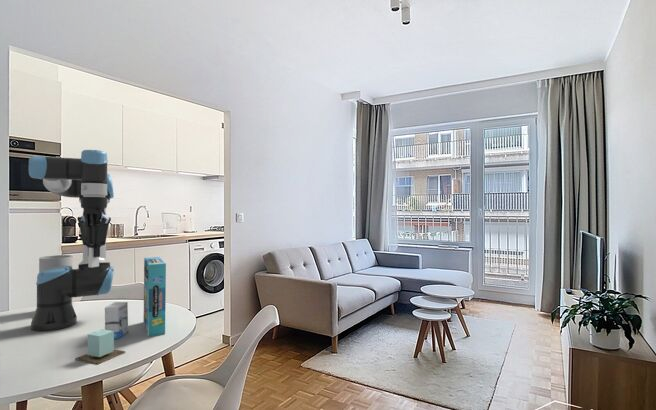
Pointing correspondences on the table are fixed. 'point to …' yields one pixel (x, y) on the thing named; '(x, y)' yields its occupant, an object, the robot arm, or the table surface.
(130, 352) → the table surface
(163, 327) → the game box
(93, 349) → the mint foam cube
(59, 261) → the cylinder vase
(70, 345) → the table surface
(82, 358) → the brown peg stand
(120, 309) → the ink box
